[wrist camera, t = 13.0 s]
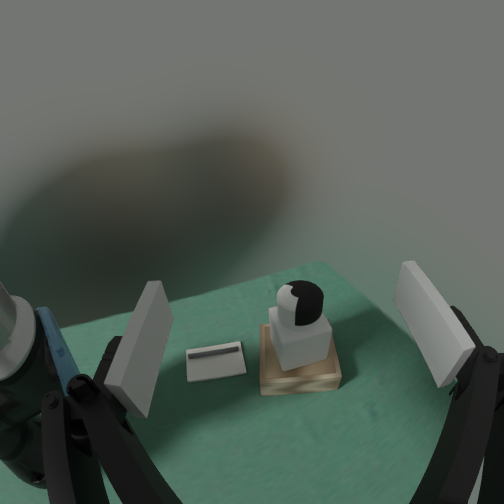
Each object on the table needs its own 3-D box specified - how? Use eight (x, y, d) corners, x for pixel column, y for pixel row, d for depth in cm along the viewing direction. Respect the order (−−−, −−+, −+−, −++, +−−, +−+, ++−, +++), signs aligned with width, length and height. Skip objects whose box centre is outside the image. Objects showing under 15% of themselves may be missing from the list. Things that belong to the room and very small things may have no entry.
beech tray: (261, 395, 38) (259, 382, 36) (261, 338, 48) (259, 323, 46) (337, 389, 37) (342, 375, 35) (326, 334, 47) (329, 318, 45)
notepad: (188, 384, 41) (185, 378, 40) (187, 353, 47) (184, 346, 46) (247, 375, 42) (245, 369, 41) (240, 344, 48) (239, 338, 47)
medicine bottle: (311, 327, 44) (315, 269, 38) (327, 359, 38) (337, 302, 32) (270, 338, 43) (266, 280, 37) (282, 372, 37) (281, 316, 31)
